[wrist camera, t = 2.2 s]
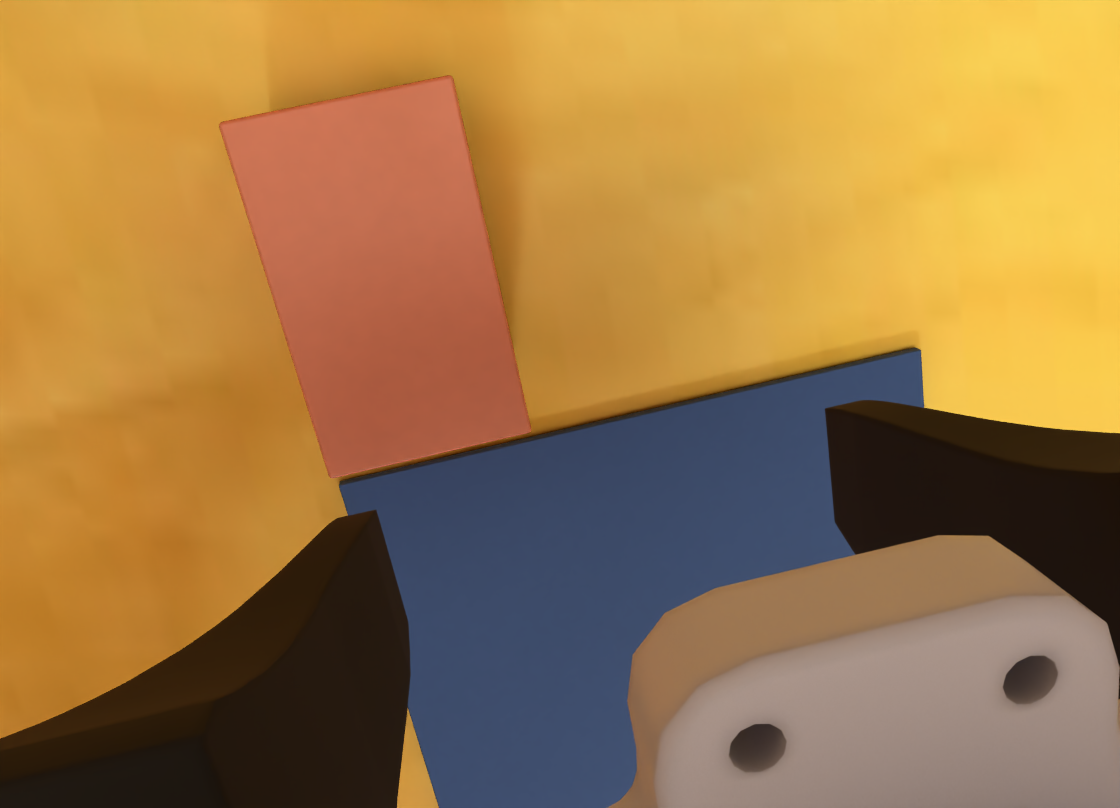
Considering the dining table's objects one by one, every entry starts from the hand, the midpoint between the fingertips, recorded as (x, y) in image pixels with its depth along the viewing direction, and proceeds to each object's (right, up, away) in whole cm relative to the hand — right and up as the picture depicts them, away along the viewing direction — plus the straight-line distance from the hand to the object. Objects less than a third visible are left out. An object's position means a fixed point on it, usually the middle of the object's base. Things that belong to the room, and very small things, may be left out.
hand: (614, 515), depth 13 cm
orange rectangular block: (-5, +5, +8) cm, 11 cm away
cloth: (+3, -8, +13) cm, 16 cm away
